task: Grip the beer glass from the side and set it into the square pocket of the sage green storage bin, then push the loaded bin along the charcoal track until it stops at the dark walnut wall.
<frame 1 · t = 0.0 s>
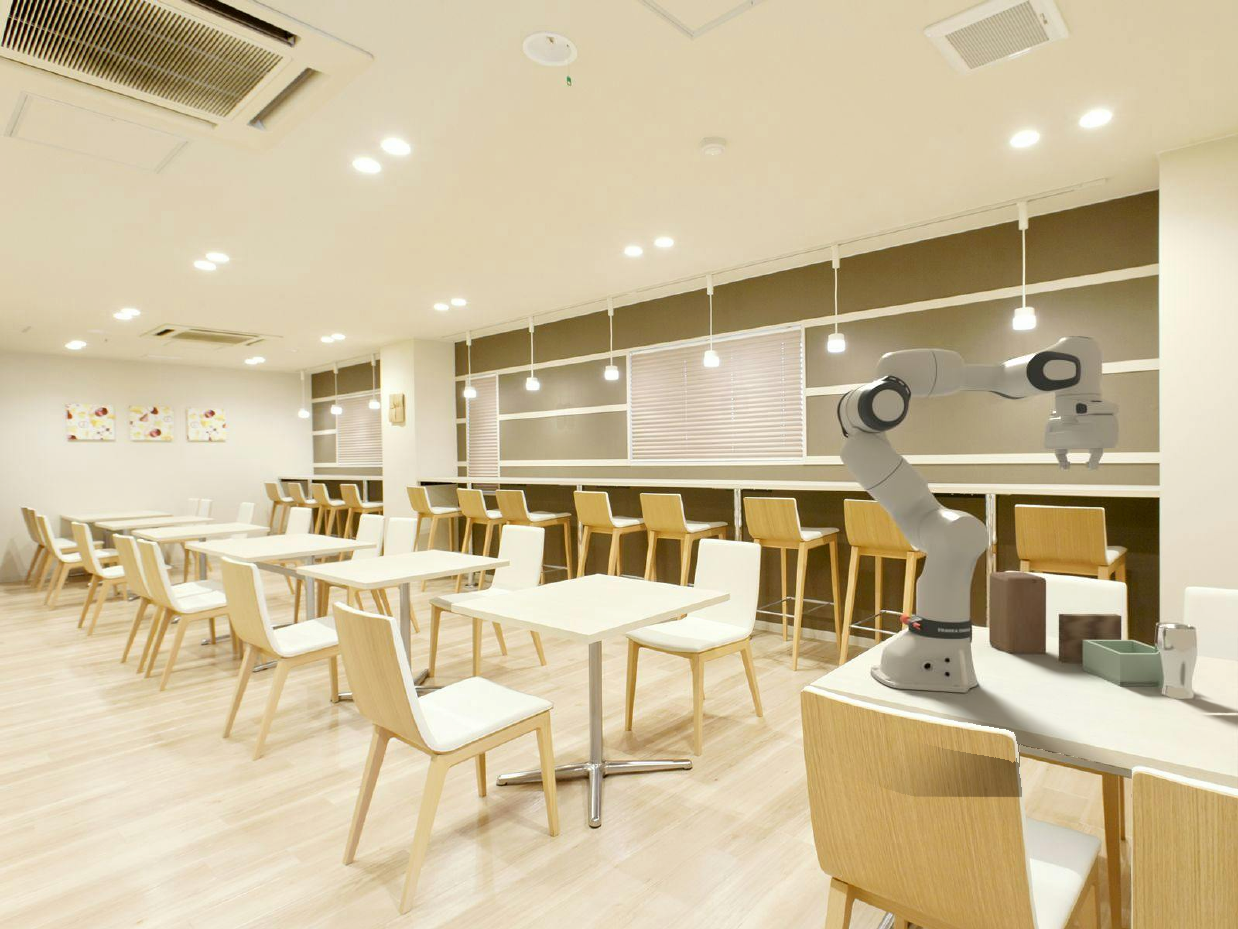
hand: (1077, 469, 153), 48 cm above the table, tool pointing down, fingers open, 8 cm apart
wooden block: (1016, 651, 177), on the table
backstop: (1089, 663, 165), on the table
sage green storage bin: (1127, 662, 153), point 4 cm above the table, slide at 0.0 cm
beer glass: (1175, 697, 142), on the table
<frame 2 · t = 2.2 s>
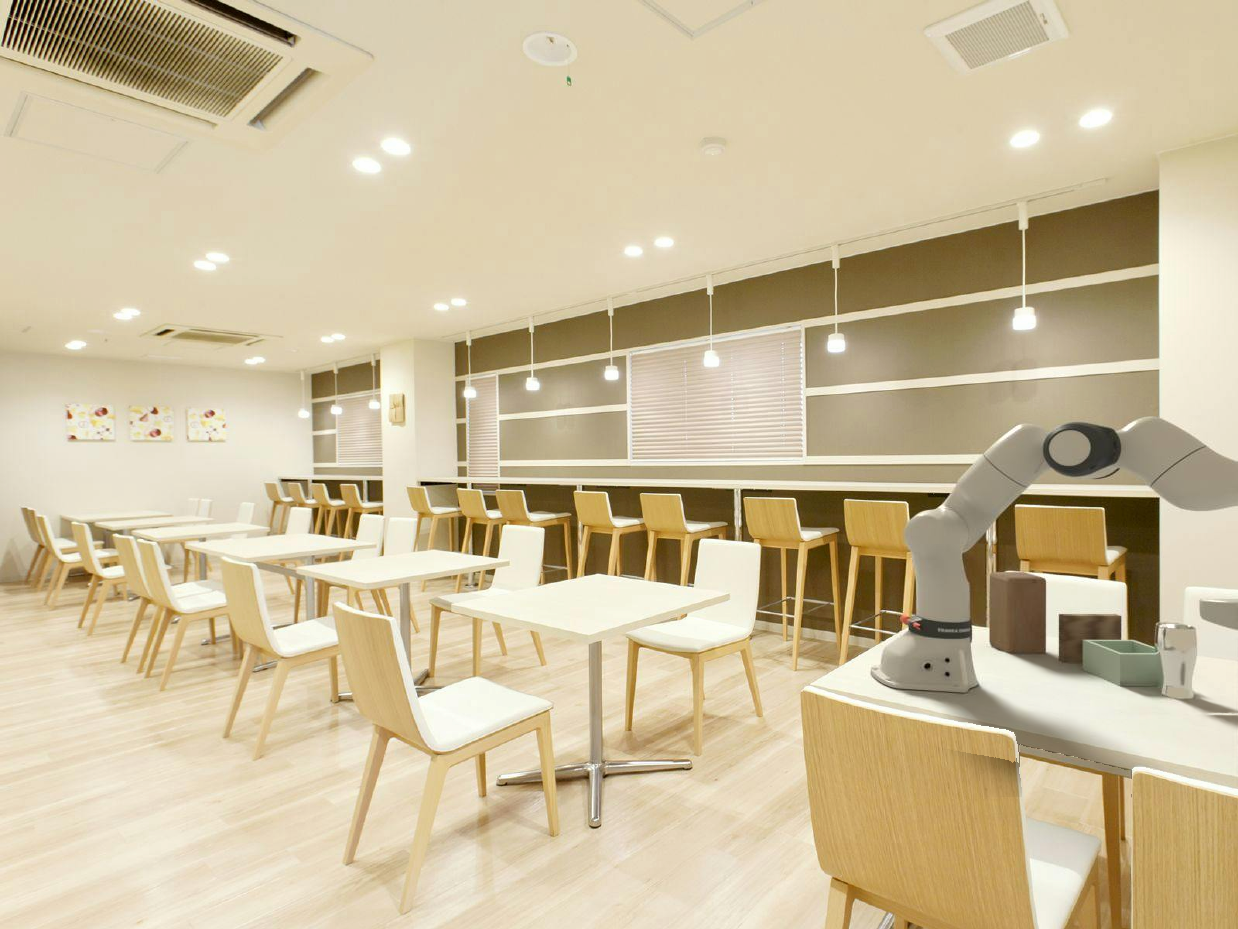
hand: (1227, 603, 130), 22 cm above the table, tool horizontal, fingers open, 8 cm apart
nothing on the table moved.
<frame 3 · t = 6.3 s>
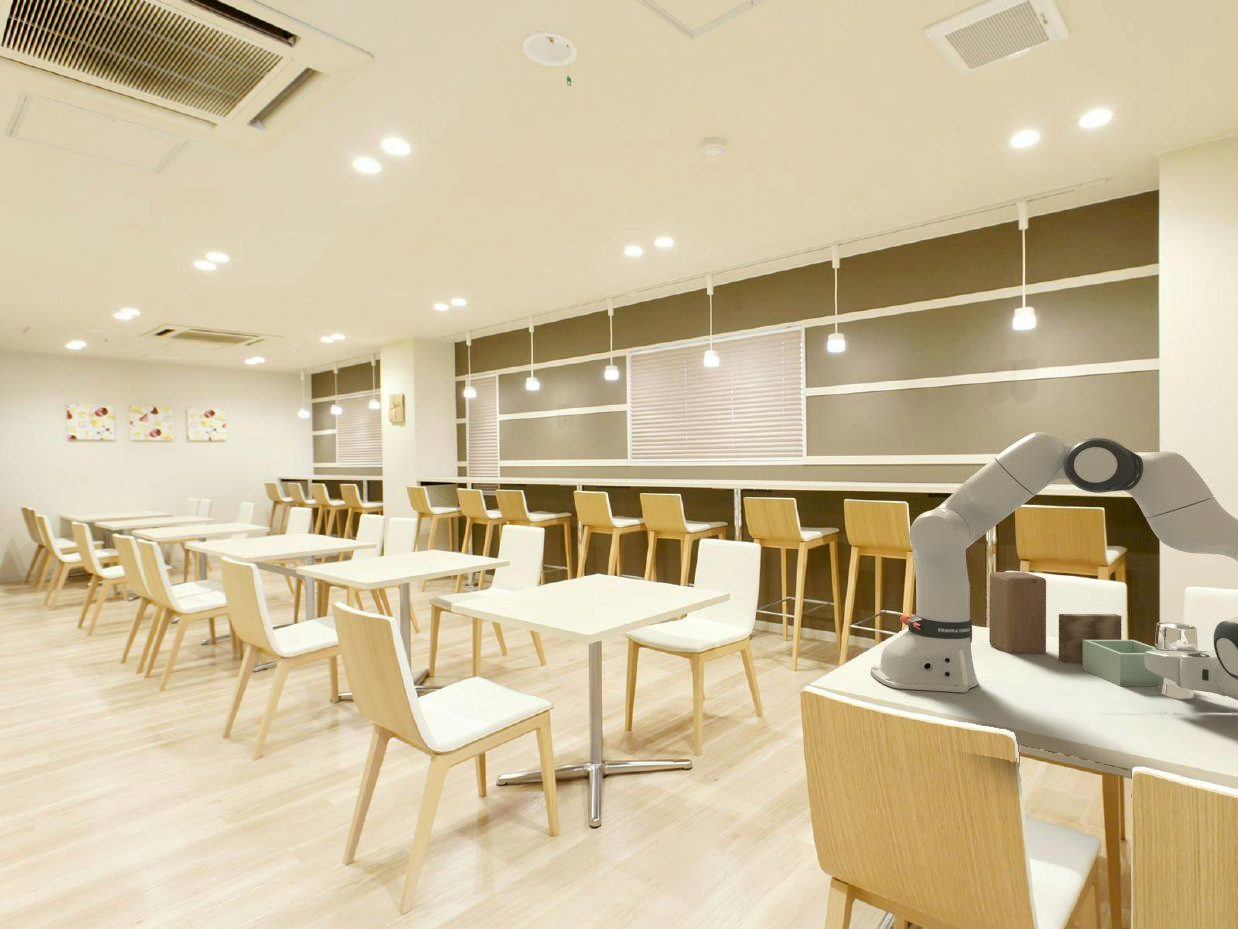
hand: (1171, 652, 143), 9 cm above the table, tool horizontal, fingers closed on beer glass, 6 cm apart
beer glass: (1175, 697, 142), on the table, touching gripper
everything else where it was.
when the fingers open (12 cm above the table, at t = 11.9 s): beer glass moves 2 cm, resting on sage green storage bin.
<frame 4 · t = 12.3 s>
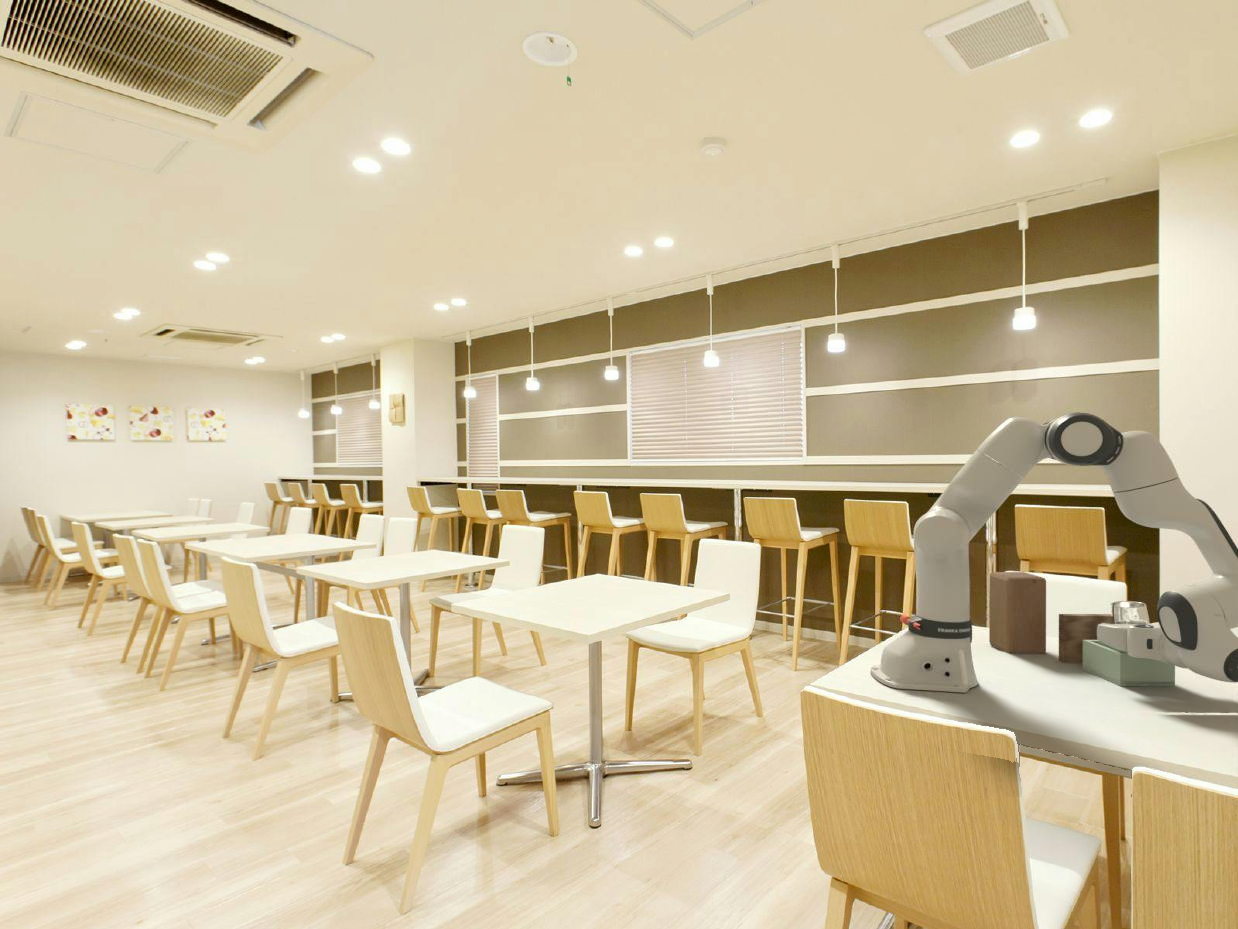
hand: (1124, 626, 154), 12 cm above the table, tool horizontal, fingers open, 8 cm apart
sage green storage bin: (1127, 662, 153), point 4 cm above the table, slide at 0.0 cm, touching beer glass
beer glass: (1135, 670, 153), point 2 cm above the table, touching gripper, sage green storage bin
everything else where it was.
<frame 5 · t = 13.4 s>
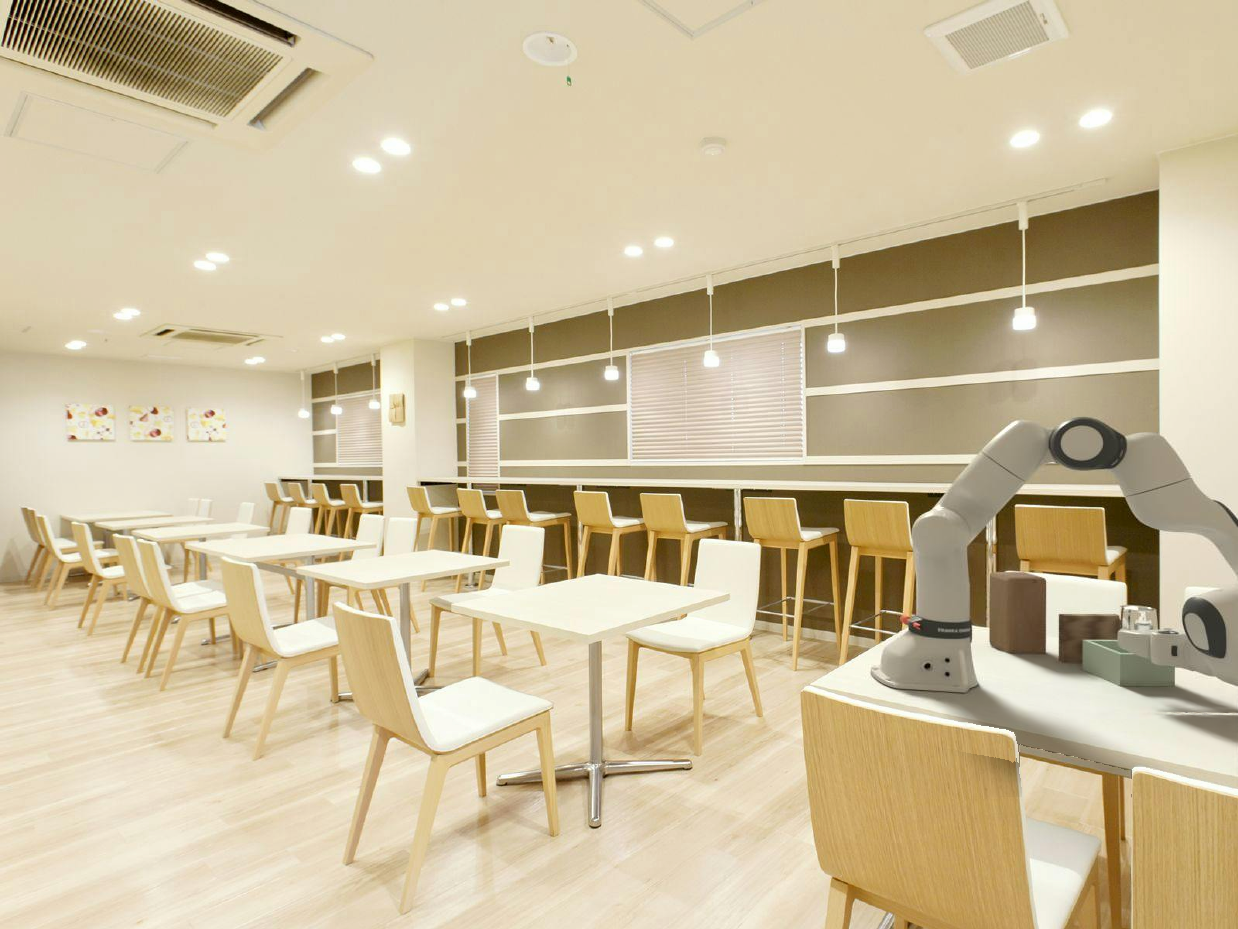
hand: (1144, 632, 148), 12 cm above the table, tool horizontal, fingers open, 8 cm apart
beer glass: (1138, 675, 152), point 1 cm above the table, touching sage green storage bin
everything else where it was.
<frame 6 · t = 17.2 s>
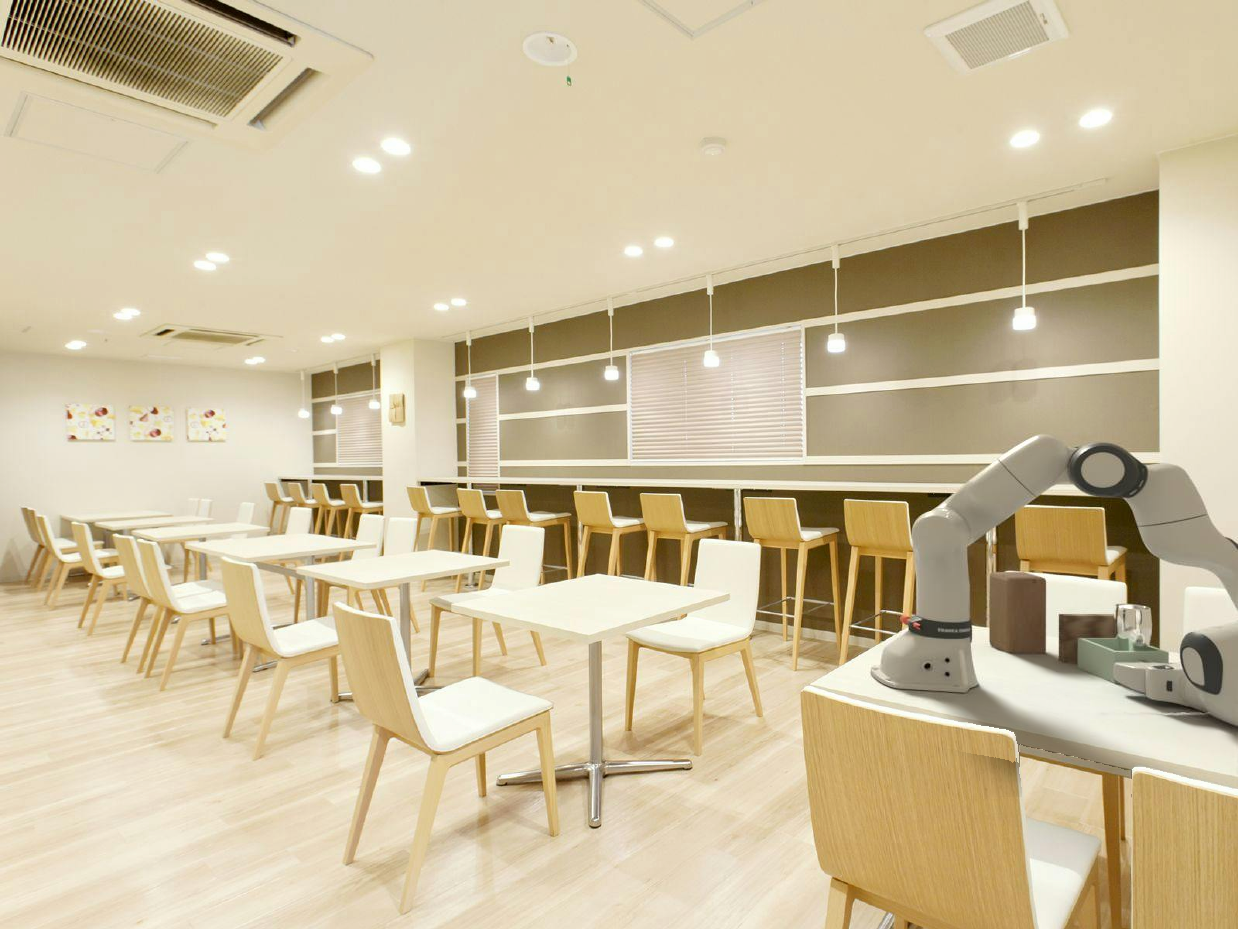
hand: (1141, 663, 149), 5 cm above the table, tool horizontal, fingers closed, pressing on sage green storage bin
sage green storage bin: (1121, 660, 155), point 4 cm above the table, slide at 1.7 cm, touching beer glass, gripper
beer glass: (1132, 672, 154), point 1 cm above the table, touching sage green storage bin
everything else where it was.
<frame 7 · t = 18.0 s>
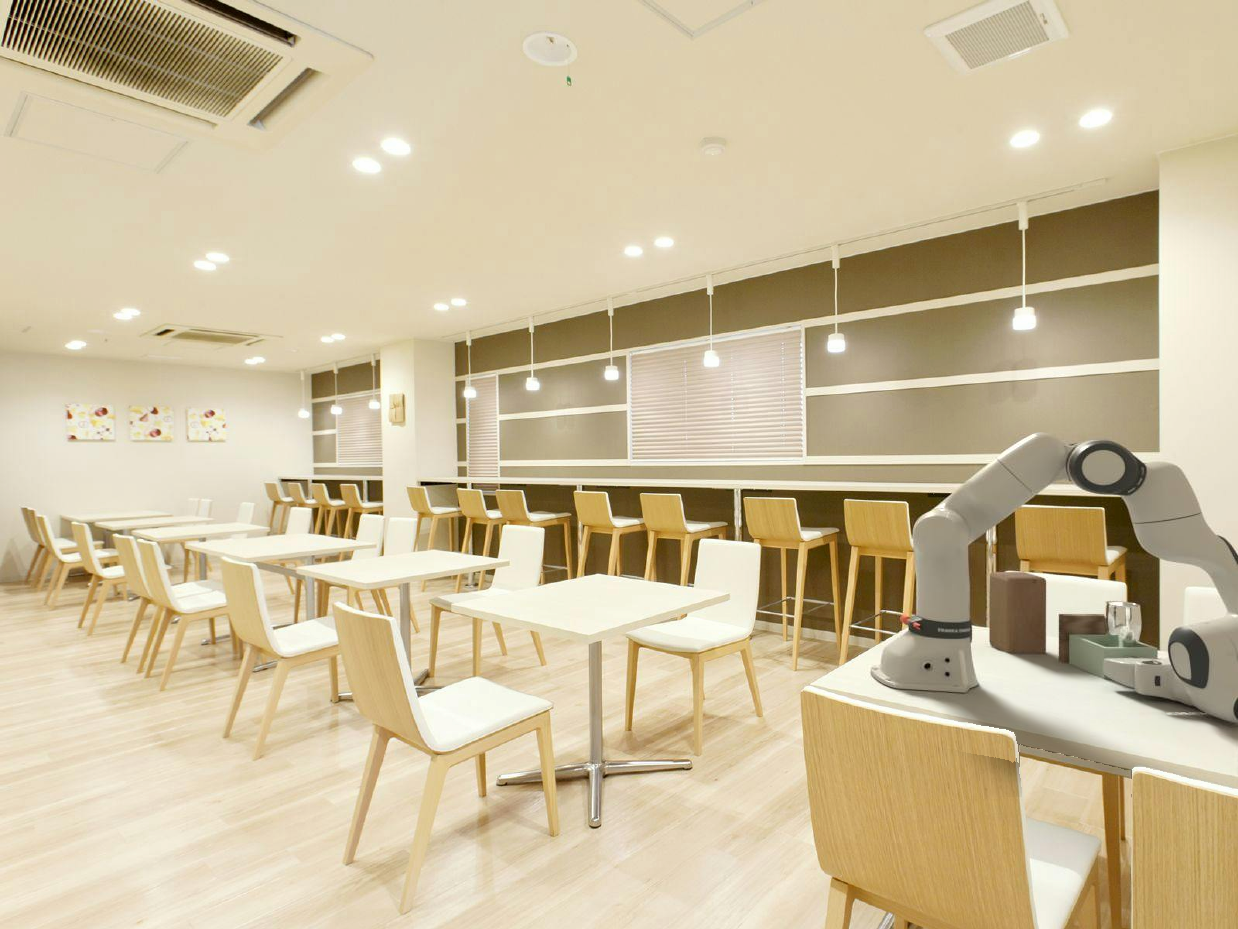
hand: (1130, 659, 152), 5 cm above the table, tool horizontal, fingers closed, pressing on sage green storage bin
sage green storage bin: (1111, 656, 158), point 4 cm above the table, slide at 4.8 cm, touching beer glass, gripper
beer glass: (1122, 668, 157), point 1 cm above the table, touching sage green storage bin
everything else where it was.
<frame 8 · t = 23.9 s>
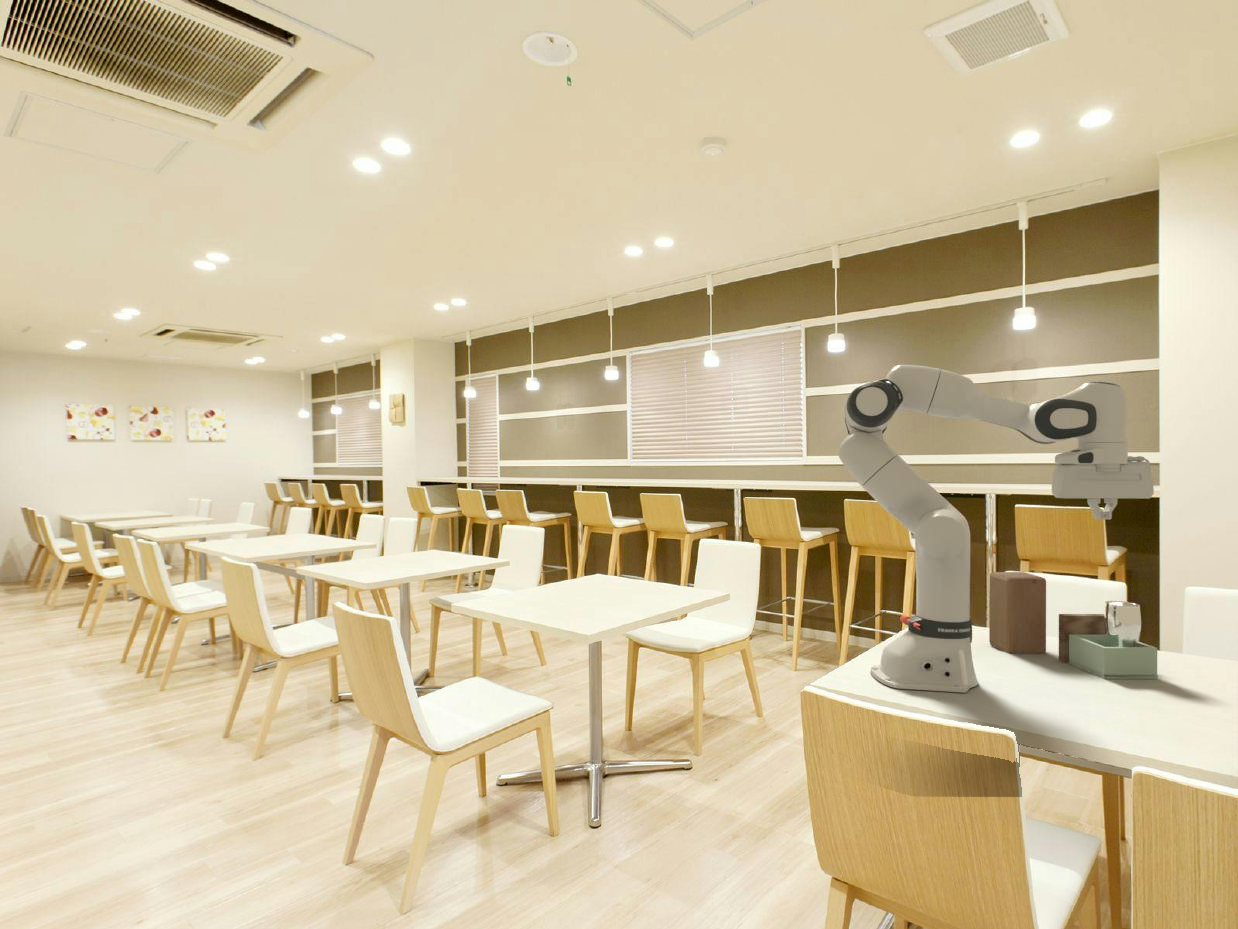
hand: (1102, 519, 147), 37 cm above the table, tool pointing down, fingers closed
sage green storage bin: (1111, 656, 158), point 4 cm above the table, slide at 4.9 cm, touching beer glass
everything else where it was.
at the end: beer glass 2.1 cm from the target spot, point 1.3 cm above the table; sage green storage bin slide at 4.9 cm; beer glass tilted 0° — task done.
